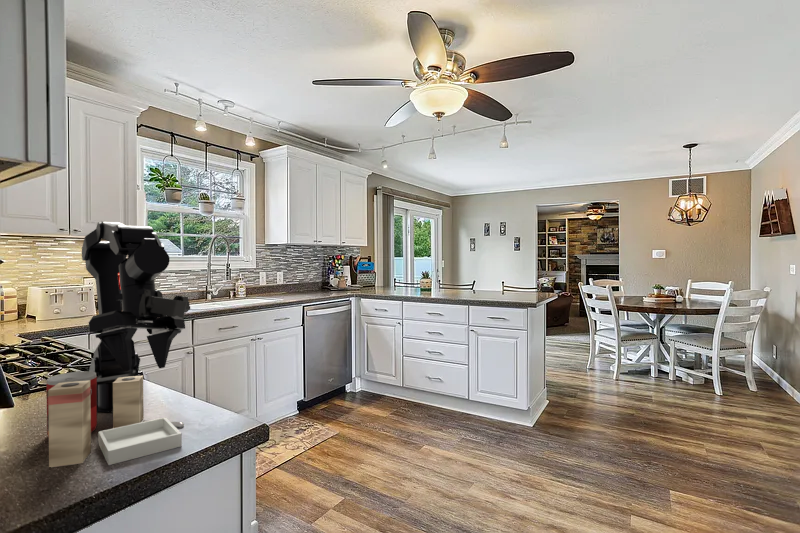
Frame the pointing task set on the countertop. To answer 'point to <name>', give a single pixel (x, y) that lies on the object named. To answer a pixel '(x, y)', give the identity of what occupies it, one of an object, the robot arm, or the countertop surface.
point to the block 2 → (127, 401)
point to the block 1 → (69, 423)
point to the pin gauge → (175, 424)
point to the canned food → (72, 378)
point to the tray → (138, 440)
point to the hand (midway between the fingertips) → (145, 369)
